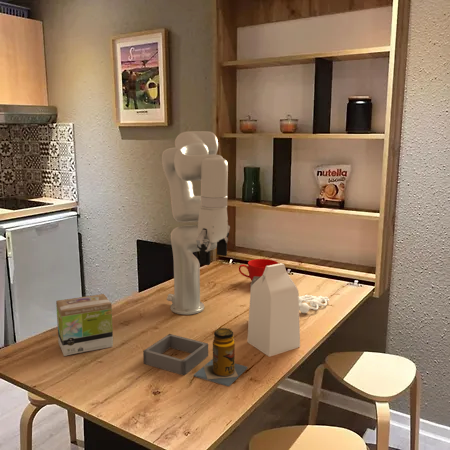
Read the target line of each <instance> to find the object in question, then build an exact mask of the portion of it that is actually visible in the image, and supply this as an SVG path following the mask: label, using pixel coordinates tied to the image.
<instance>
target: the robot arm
mask: <svg viewBox="0 0 450 450" xmlns="http://www.w3.org/2000/svg"><path fill="white" fill-rule="evenodd" d="M218 141H219V140H218V137H217V136H216V134H215V133H214V132H213V131H208V130H206V131H205V130H204V131H201V130H200V131H194V130H193V131H182V132H180V133H179V134H177V136H176V137H175V140H174V146H175V147H169V148H166V149H165V150H163V151H162V155H161V164H162V165H161V166H162V169H163V173H164V176H165V178H166V180H167V183H168V187H169V193H170V200H171V201H170V202H171V211H172V217H173V219H174V221H176V222H178V223H197V224H196V225H195V224H192V225H189V224H188V225H180V226H176V227H174V228H173V229H172V230H171V232H170V243H171V244H170V245H171V248H172V249H171V250H172V256H173V257H172V258H173V285H174V286H173V289H174V293H173V294H172V293H168V295H167V297H166V301H168V302H171V303H172V304H170V311H171V312H173V313H175V314H178V315H184V316H186V315H189V316H190V315H195V314H199V313H201V312H203V311H204V309H205V304H204V303H203V301H201V276H200V275H201V270H200V269H201V268H200V267H201V266H200V265H206V266H210V265H211V251H212V250H216V255H217V256H221V257H227V256H228V241H229V235H230V229H231V226H230V225H229V222H228V221H229V218H228V188H229V187H228V186H229V185H228V179H229V178H228V177H229V175H228V174H229V173H228V172H229V165H228V161H227V160H226V158H223V156H222V155H220V154H218V151H219V142H218ZM197 181H200V195H195V194H194V185H193V182H197ZM195 252H199V259H198V258H197V256H195V255H194V254H193V253H195Z"/></svg>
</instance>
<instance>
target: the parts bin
mask: <svg viewBox="0 0 450 450" xmlns="http://www.w3.org/2000/svg"><path fill="white" fill-rule="evenodd" d="M169 349H174V350H178V351H182V352H185V353H189V355H187V356H186V357H185V358H183V359H182V358H181V359H180V358H177V357H174V356H170V355H167V354H164V353H165V352H167V351H168V350H169ZM142 354H143V364H144V365H147V366H151V367H154V368H157V369H161V370H164V371H168V372H171V373H174V374H177V375H181V376H185V375H187V374H188V373H189V372H190V371H191V370H193V369H194V368H195V367H196V366H198V365H199V364H201V362H203V361H204V360H205V359H207V358H208V357H209V343H208V342H207V343H206V342H203V341H200V340H196V339H191V338H187V337H184V336H180V335H175V334H172V333H169V334H167V335H165V336H163V337H162V338H160V339H159V340H158V341H156V342H155V343H153V344H151V345H150V346H148V347H147V348H145V349H144V350H143V352H142Z"/></svg>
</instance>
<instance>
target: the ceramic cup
mask: <svg viewBox="0 0 450 450" xmlns="http://www.w3.org/2000/svg"><path fill="white" fill-rule="evenodd" d="M274 264H279V262H278V261H276V260H274V259H268V258H256V259H251V260H249V261H248V262H247V265H246V264H241V265H239V266H238V271H239V273H240V274H241V276H243V277H245V278H247V279H250V281H251V282H252V279H253V277H254V276H258V277H260V276H263V273H264V270H265V268H266V266H269V265H274ZM242 267H245V268H246V269H247V272H248V274H245V273H243V272H242V269H241V268H242Z"/></svg>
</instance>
